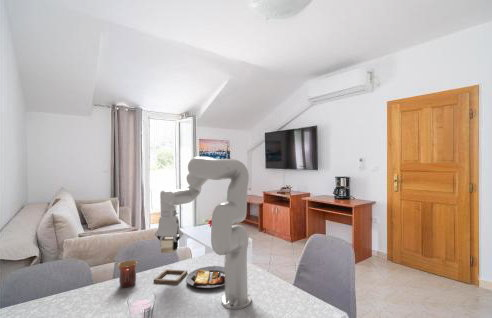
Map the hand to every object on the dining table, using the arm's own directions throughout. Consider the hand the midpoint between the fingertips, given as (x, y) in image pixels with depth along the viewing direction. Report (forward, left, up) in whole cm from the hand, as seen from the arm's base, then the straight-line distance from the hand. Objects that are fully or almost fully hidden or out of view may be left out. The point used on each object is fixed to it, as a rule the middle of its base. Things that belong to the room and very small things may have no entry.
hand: (169, 248), depth 132 cm
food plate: (+1, -22, -15) cm, 27 cm away
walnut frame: (0, -1, -15) cm, 15 cm away
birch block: (0, 0, -1) cm, 1 cm away
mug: (-11, +16, -15) cm, 25 cm away
